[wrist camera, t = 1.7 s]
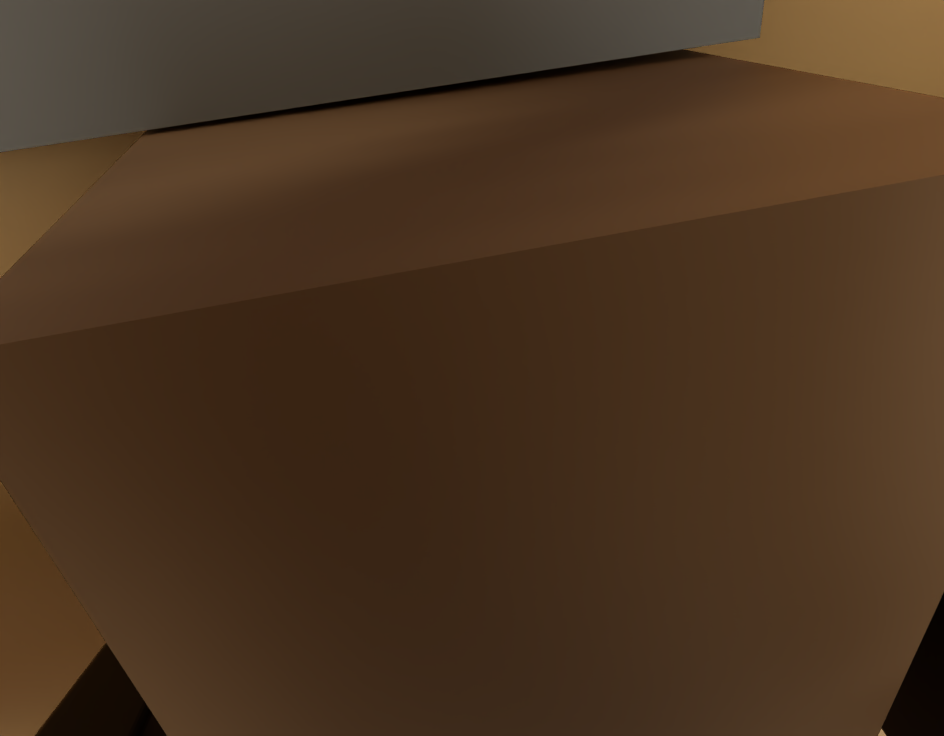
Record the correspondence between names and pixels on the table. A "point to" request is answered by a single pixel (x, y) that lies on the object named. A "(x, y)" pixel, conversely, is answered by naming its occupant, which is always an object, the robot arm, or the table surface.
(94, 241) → the tan rectangular box
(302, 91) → the board
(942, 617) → the robot arm
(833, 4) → the table surface
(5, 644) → the table surface
